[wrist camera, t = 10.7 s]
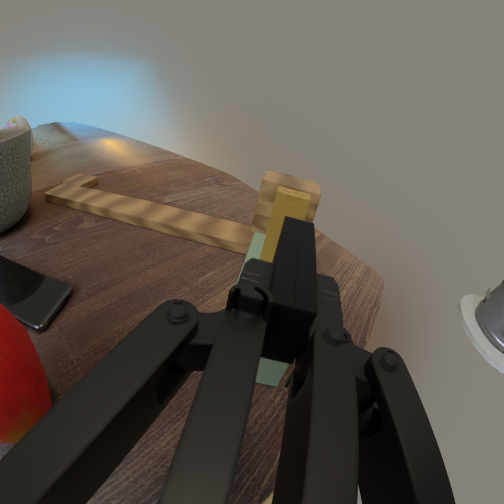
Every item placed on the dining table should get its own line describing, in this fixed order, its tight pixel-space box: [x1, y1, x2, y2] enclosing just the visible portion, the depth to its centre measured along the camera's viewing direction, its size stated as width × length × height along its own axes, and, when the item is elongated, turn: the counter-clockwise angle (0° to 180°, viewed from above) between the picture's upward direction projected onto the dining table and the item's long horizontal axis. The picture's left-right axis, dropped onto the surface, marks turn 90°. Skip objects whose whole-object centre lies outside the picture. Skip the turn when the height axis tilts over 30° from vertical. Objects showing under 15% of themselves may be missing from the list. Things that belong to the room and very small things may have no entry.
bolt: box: [260, 186, 311, 263], centre depth 31 cm, size 3×13×9 cm, turn 170°
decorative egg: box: [4, 116, 33, 154], centre depth 53 cm, size 12×12×15 cm
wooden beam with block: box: [44, 170, 321, 261], centre depth 42 cm, size 49×14×12 cm, turn 80°
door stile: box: [237, 232, 289, 387], centre depth 29 cm, size 6×18×5 cm, turn 170°
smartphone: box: [0, 255, 73, 331], centre depth 23 cm, size 7×1×16 cm
